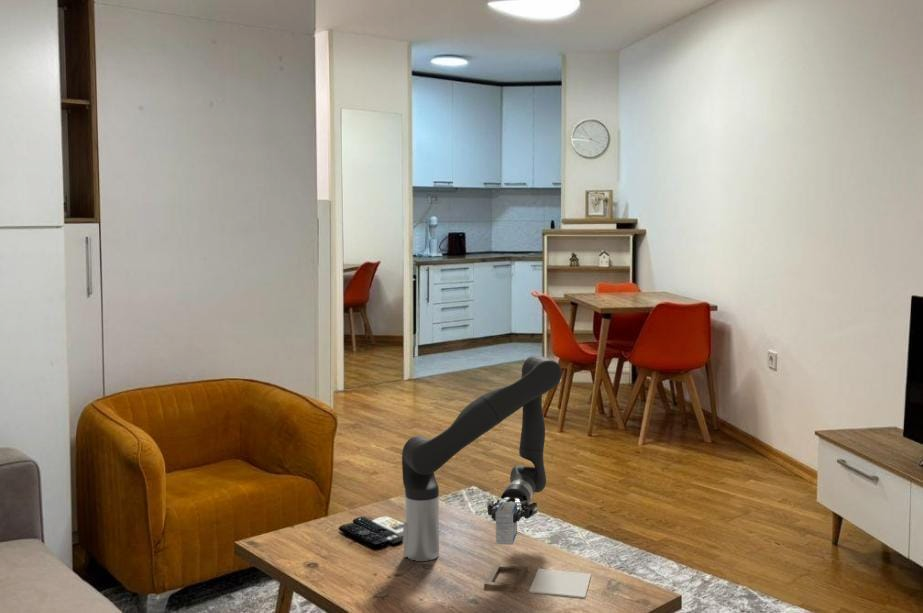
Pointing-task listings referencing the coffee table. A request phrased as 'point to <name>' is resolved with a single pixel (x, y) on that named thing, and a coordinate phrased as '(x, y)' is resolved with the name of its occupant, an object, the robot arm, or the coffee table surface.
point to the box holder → (503, 586)
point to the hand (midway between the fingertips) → (504, 518)
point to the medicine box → (506, 523)
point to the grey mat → (560, 583)
